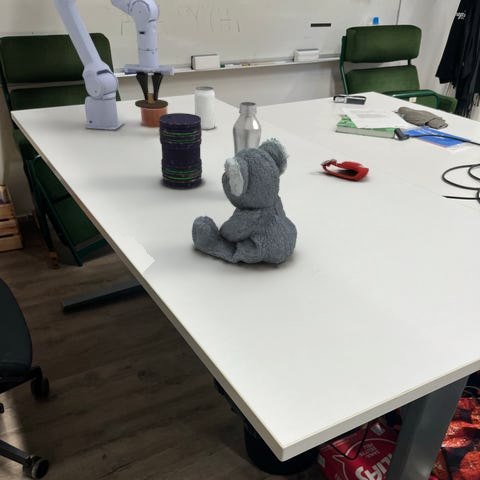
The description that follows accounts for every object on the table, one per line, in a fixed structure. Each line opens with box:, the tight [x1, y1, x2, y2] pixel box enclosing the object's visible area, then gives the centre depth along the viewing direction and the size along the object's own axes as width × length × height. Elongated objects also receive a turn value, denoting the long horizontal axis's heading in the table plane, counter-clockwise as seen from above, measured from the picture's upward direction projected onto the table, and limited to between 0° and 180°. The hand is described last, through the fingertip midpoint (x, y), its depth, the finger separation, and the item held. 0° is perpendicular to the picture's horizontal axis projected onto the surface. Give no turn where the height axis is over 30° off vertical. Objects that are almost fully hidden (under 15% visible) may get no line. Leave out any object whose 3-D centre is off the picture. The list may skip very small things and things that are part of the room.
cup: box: [140, 106, 169, 128], centre depth 159 cm, size 9×9×6 cm
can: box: [194, 85, 216, 131], centre depth 156 cm, size 6×6×12 cm
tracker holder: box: [320, 158, 370, 181], centre depth 125 cm, size 12×4×10 cm
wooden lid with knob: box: [134, 92, 169, 109], centre depth 146 cm, size 10×10×3 cm
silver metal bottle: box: [232, 101, 263, 157], centre depth 107 cm, size 6×7×20 cm
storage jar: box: [158, 112, 203, 190], centre depth 114 cm, size 10×10×15 cm
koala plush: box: [191, 137, 298, 265], centre depth 85 cm, size 17×18×20 cm
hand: (151, 99), depth 146 cm, fingers closed on wooden lid with knob, 2 cm apart
